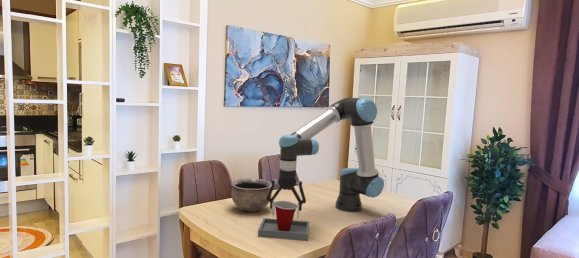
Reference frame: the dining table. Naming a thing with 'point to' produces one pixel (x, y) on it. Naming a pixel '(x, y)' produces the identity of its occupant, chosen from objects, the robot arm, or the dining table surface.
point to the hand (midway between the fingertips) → (285, 216)
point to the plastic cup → (284, 214)
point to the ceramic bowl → (250, 194)
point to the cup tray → (296, 232)
